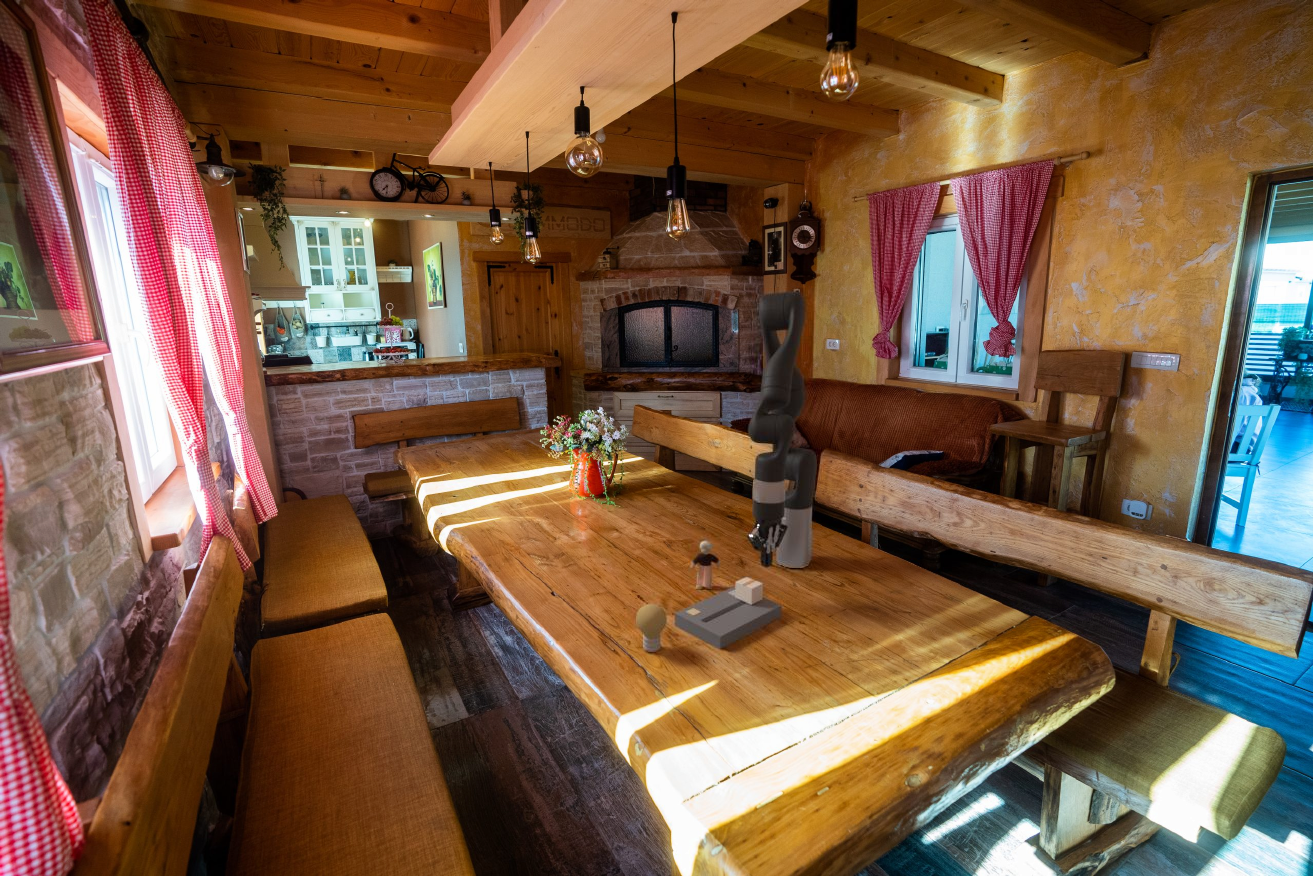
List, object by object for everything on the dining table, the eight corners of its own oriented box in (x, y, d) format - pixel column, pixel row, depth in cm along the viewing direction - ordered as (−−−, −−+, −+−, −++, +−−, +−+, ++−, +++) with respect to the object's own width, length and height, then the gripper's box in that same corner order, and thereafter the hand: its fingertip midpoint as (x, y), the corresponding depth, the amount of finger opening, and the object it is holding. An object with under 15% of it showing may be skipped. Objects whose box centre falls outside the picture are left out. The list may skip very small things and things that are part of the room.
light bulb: (649, 638, 138) (649, 596, 136) (672, 647, 134) (672, 604, 132) (630, 650, 133) (629, 606, 131) (653, 660, 129) (653, 616, 127)
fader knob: (746, 592, 152) (746, 576, 151) (762, 599, 149) (763, 583, 148) (735, 597, 150) (735, 581, 149) (751, 604, 146) (751, 588, 145)
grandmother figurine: (694, 592, 160) (694, 545, 157) (689, 585, 164) (689, 539, 161) (722, 588, 162) (723, 541, 159) (717, 582, 166) (717, 536, 163)
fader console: (736, 596, 157) (736, 585, 156) (781, 616, 147) (781, 604, 146) (674, 625, 144) (674, 612, 143) (720, 649, 133) (720, 636, 133)
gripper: (774, 488, 156) (771, 554, 159) (738, 498, 147) (736, 568, 151) (799, 495, 150) (795, 563, 154) (763, 506, 142) (760, 578, 145)
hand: (766, 565), depth 152 cm, fingers closed
